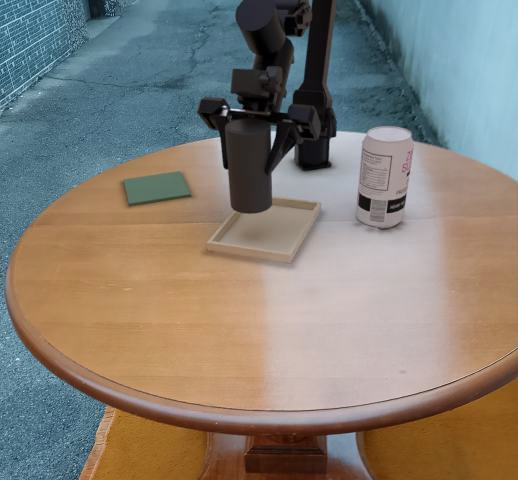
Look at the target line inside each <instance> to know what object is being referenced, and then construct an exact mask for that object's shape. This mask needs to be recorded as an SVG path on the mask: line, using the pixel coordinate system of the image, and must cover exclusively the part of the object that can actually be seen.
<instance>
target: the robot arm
mask: <svg viewBox="0 0 518 480" xmlns="http://www.w3.org/2000/svg"><path fill="white" fill-rule="evenodd" d="M337 3H338V0H311V4H310V0H242V1H241V2H240V3H239V5H238V6H236V9H235V14H234V17H235V21H236V24H237V26H238V28H239V30H240V32H241V35H242V36H243V39H244V40H245V43H246V45H247V47H248V50H249V51H251V53H253V54H254V59H253V64H252V67H251V68H247V69H246V68H233V69H232V70H231V71H232V72H231V82H230V94H232V95H234V94H235V95H236V96H237V97H236V101H237V102H238V104H239V105H242V108H236V107H235V108H234V107H231V106H230V105H229V103H228V102H227V100H226V98H225V97H211V96H204V97H203V98H201V99H200V100H199V101H198V106H197V110H196V114H197V115H198V116H199V117H200V118H201V120H202V121H203V122H204V124H205V125H206V126H207V128H208V129H210V130H212V131H217V132H218V134H219V139H220V147H221V158H222V167H223V169H224V170H226V171H228V163H227V149H226V136H225V126H226V124H228V123H229V122H231V121H234V120H238V119H246V118H255V119H262V120H265V121H267V122H269V123H270V125H271V127H272V126H274V127H275V135H274V140H273V143H272V145H271V153H270V156H269V159H268V163H267V168H266V173H267V175H270V174H271V173H272V174H273V172H274V170H275V169H276V168H277V167H278V166H279V164H280V163H281V162H282V160H283V159H284V158H285V157H286V155H288V153H290V151H291V150H292V149H293V148H294V149H293V150H294V157H293V161H294V162H295V163H296V164H297V165H298V167H299V168H300V169H301V170H302V171H309V170H318V169H322V168H329V167H332V165H333V163H332V162H331V161H330V143H331V139H333V138H336V137H337V134H338V133H337V132H338V131H337V130H338V129H337V128H338V127H337V125H338V120H337V117H336V114H335V111H334V108H333V97H332V95H331V92H330V89H329V87H328V85H327V84H328V83H327V82H328V76H329V67H330V59H331V51H332V44H333V43H332V42H333V35H334V26H335V19H336V12H337V11H336V10H337ZM306 30H308V34H307V45H306V53H305V62H304V72H303V80H302V83H301V84H300V85H299V87H298V88H297V89H295V90H294V91H293V93H292V103H290V105H288V108H287V112H281V107H282V105H283V104H282V103H283V100H284V99H287V95H288V91H287V88H286V87H287V84H288V80H289V76H290V70H291V66H292V65H293V64H295V46H294V45H293V42H292V41H291V39H290V38H302V37H303V36H304V35H305V33H306Z"/></svg>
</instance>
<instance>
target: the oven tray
mask: <svg viewBox="0 0 518 480" xmlns="http://www.w3.org/2000/svg"><path fill="white" fill-rule="evenodd" d="M321 211H322V202H321V201H317V200H315V201H314V200H308V199H298V198H290V197H283V196H274V195H272V206H271V207H270V208H269V209H268V210H266V211H264V212H260V213H255V214H245V213H240V212H237V211H235V210H233V211H232V212H231V213H230V214H229V215H228V216H227V218H226V219H225V220H224V221H223V222H222V223H221V225H220V226H219V227H218V228H217V230H216V231H215V232H214V233H213V235H212V236H211V237H210V238H209V239H208V240H207V242H206V246H207V251H208V252H216V253H222V254H228V255H234V256H239V257H245V258H253V259H258V260H259V259H260V260H266V261H272V262H278V263H285V264H291V263H292V261H293V259H294V258H295V256H296V254H297V253H298V251H299V249H300V248H301V246H302V244H303V242H304V241H305V239H306V237H307V235H308V234H309V232H310V230H311V228H312V227H313V225H314V223H315V222H316V220H317V218H318V216H319V215H320V213H321Z"/></svg>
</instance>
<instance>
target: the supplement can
mask: <svg viewBox="0 0 518 480" xmlns="http://www.w3.org/2000/svg"><path fill="white" fill-rule="evenodd" d="M412 136H413V135H412V132H411V131H410V130H408V129H406V128H404V127H399V126H393V125H392V126H391V125H384V126H376V127H372V128H370V129H368V130H367V131H366V135H364V138H363V140H362V142H361V153H360V162H359V163H360V165H359V175H358V186H357V196H356V197H357V198H356V209H355V217H356V219H358V221H359V222H360V223H363V224H364V225H366V226H370V227H376V228H377V229H381V230H382V229H389V228H392V227H395V226H397V225H398V224H400V223H401V222H402V220H403V219H404V214H405V208H406V201H407V196H408V188H409V181H410V175H411V168H412V163H413V162H412V161H413V157H414V149H415V143H414V140H413V137H412Z"/></svg>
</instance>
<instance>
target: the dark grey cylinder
mask: <svg viewBox="0 0 518 480" xmlns="http://www.w3.org/2000/svg"><path fill="white" fill-rule="evenodd" d="M225 136H226V149H227V163H228V170H227V176H228V187H229V201H230V208H231V209H232V210H233V211H234V210H235V211H237V212H240V213H245V214H255V213H260V212H264V211H266V210H268V209H269V208H270V207H271V206H272V196H273V172H272V173H271V174H270V175H267V173H266V168H267V163H268V159H269V156H270V153H271V149H272V125H270V123H269V122H267V121H265V120H262V119H255V118H246V119H238V120H234V121H231V122H229V123H228V124H226V126H225Z"/></svg>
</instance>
